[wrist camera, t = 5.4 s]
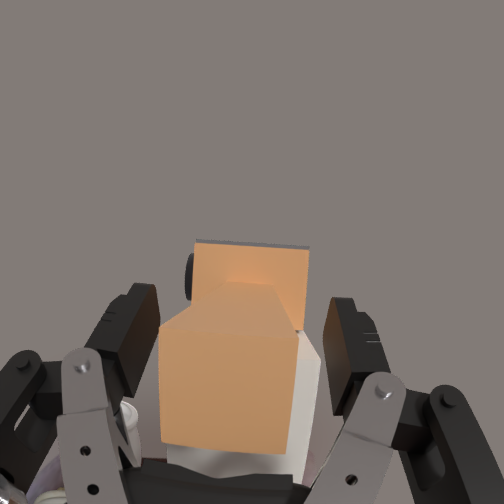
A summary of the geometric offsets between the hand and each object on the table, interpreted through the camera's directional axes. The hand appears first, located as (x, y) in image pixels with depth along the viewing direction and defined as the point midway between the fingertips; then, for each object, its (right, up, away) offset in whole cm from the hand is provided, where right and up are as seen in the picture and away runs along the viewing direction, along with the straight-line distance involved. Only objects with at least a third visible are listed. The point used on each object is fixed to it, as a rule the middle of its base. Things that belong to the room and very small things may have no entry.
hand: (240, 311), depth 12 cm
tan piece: (0, -3, +3) cm, 4 cm away
